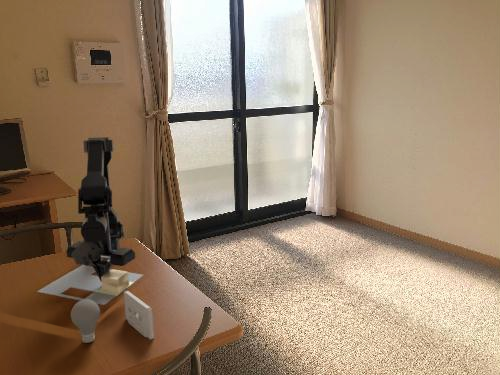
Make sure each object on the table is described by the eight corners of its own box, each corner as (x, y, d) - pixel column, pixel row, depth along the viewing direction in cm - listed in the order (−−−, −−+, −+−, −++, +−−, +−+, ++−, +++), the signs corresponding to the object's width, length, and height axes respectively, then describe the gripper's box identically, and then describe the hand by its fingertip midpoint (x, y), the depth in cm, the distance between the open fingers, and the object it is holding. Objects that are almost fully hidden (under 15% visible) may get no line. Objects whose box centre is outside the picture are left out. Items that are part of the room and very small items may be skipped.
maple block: (114, 282, 119) (112, 269, 118) (129, 284, 117) (128, 271, 116) (102, 290, 114) (101, 276, 113) (118, 293, 112) (116, 279, 111)
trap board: (83, 269, 130) (82, 264, 130) (144, 279, 123) (143, 274, 123) (37, 296, 114) (36, 291, 114) (104, 310, 107) (104, 305, 107)
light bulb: (107, 333, 97) (103, 294, 94) (95, 350, 91) (90, 308, 89) (82, 332, 98) (77, 293, 95) (69, 348, 92) (63, 307, 89)
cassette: (156, 338, 95) (154, 307, 94) (149, 341, 94) (146, 310, 92) (131, 317, 104) (128, 289, 102) (124, 320, 103) (121, 291, 101)
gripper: (47, 234, 109) (54, 289, 112) (107, 243, 103) (113, 301, 106) (78, 221, 119) (83, 272, 123) (134, 228, 113) (138, 281, 117)
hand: (103, 281), depth 117 cm, fingers closed
